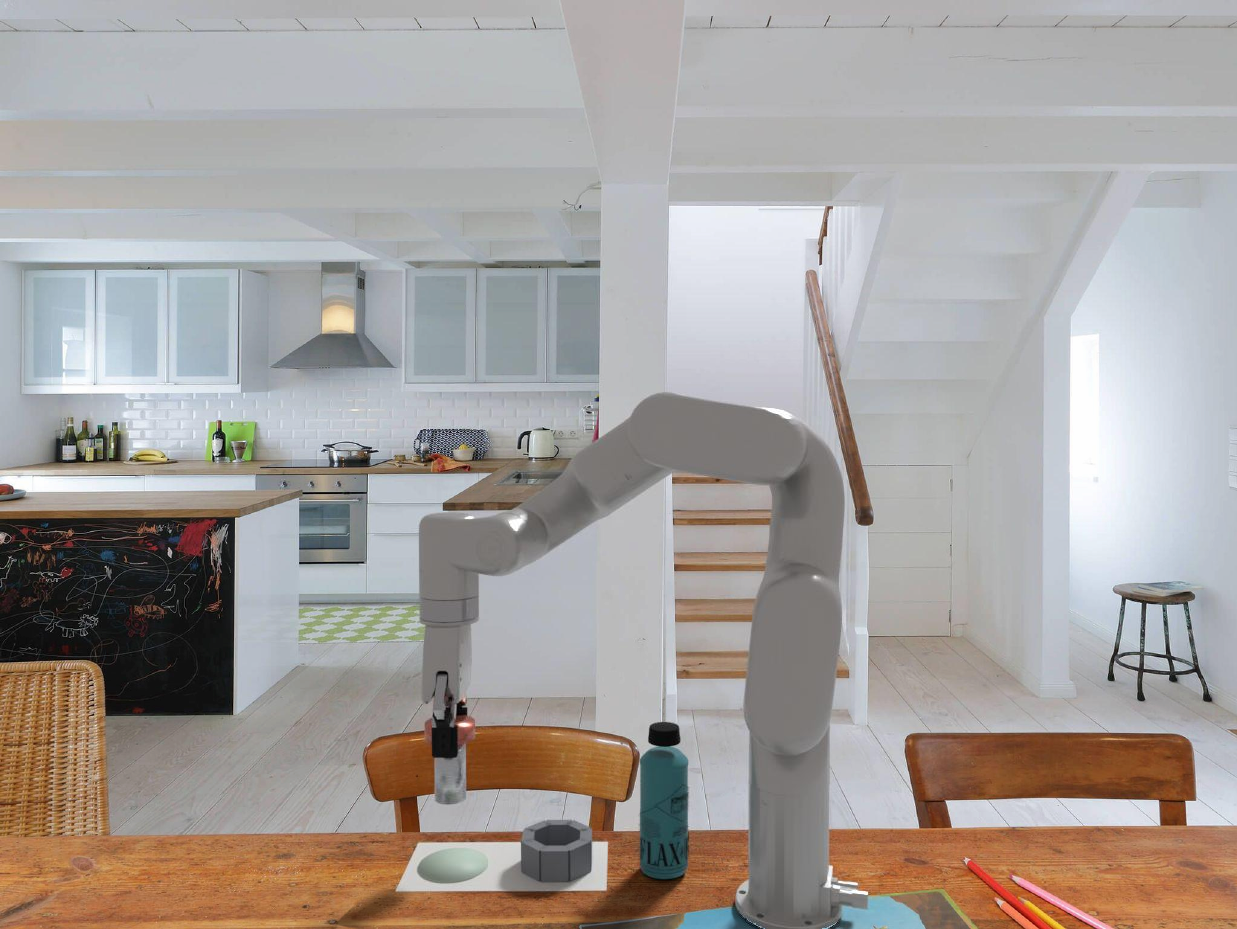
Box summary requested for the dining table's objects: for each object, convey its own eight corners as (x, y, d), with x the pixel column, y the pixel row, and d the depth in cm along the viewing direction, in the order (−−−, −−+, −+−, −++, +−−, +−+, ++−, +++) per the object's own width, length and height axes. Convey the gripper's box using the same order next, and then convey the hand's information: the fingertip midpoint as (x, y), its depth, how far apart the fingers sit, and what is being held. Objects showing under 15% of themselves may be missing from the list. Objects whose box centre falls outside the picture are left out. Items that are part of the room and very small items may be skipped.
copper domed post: (439, 785, 123) (439, 712, 123) (483, 791, 121) (483, 716, 121) (416, 805, 117) (415, 727, 116) (462, 811, 115) (461, 732, 115)
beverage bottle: (629, 884, 116) (629, 729, 115) (652, 861, 122) (651, 713, 121) (676, 896, 113) (676, 737, 112) (697, 872, 119) (697, 721, 118)
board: (608, 848, 126) (607, 813, 126) (606, 898, 113) (606, 858, 113) (418, 849, 126) (417, 814, 126) (395, 899, 113) (394, 859, 113)
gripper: (433, 596, 126) (434, 724, 127) (404, 624, 109) (405, 772, 110) (488, 596, 126) (488, 724, 127) (467, 624, 109) (468, 772, 110)
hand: (450, 745), depth 119 cm, fingers closed on copper domed post, 6 cm apart
